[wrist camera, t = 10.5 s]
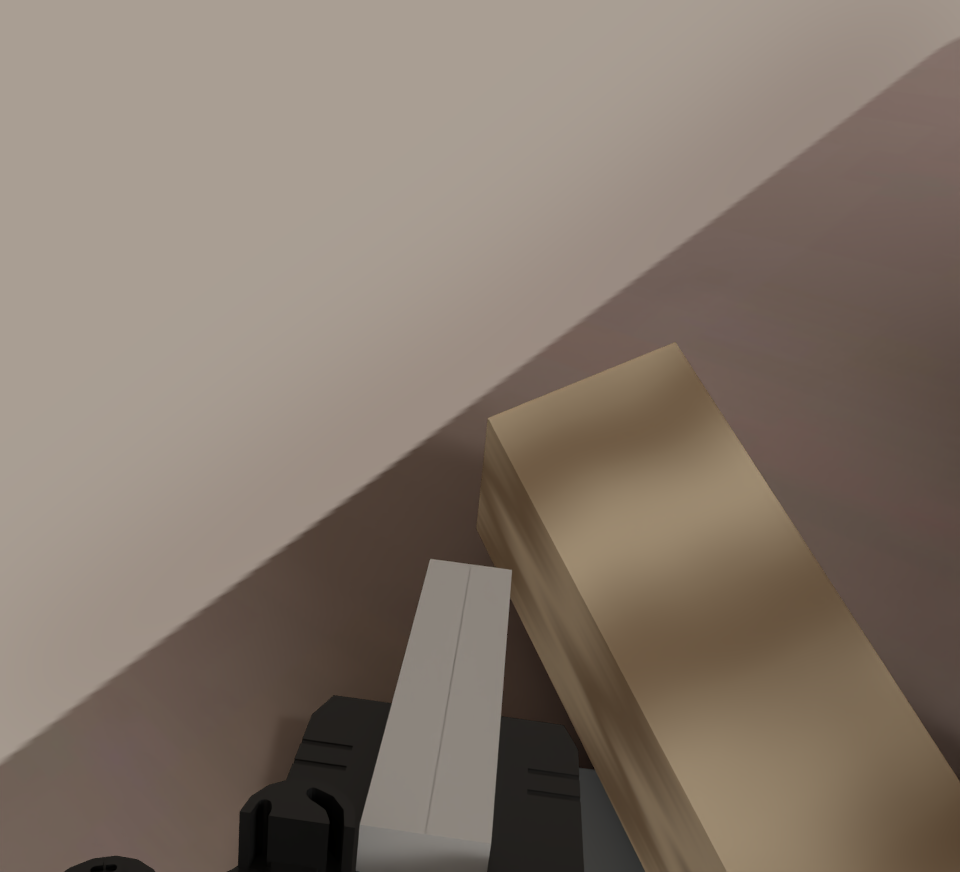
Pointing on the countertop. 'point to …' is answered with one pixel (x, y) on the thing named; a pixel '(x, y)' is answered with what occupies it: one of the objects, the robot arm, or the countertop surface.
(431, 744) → the robot arm
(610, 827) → the label board
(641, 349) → the countertop surface
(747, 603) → the tan wooden block
